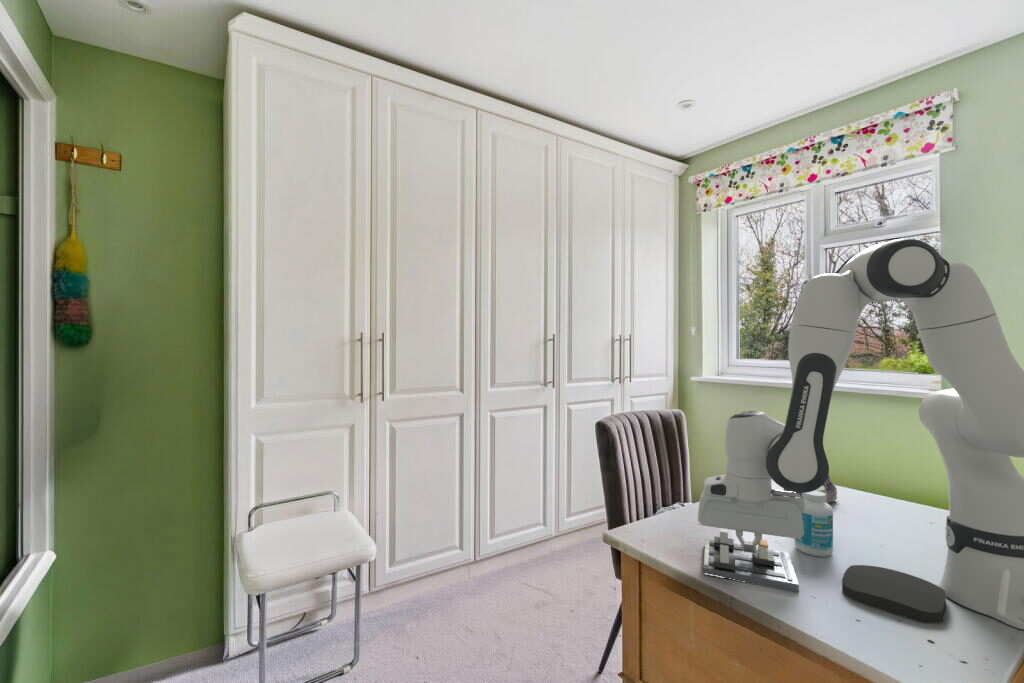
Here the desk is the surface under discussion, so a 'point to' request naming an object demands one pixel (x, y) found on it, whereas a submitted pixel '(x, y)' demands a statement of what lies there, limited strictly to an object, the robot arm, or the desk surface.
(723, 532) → the breaker
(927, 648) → the desk surface
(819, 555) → the pill bottle
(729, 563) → the breaker
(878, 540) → the desk surface
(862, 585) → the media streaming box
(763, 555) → the breaker trip
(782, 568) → the panel
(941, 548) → the desk surface
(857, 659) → the desk surface
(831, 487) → the geode
